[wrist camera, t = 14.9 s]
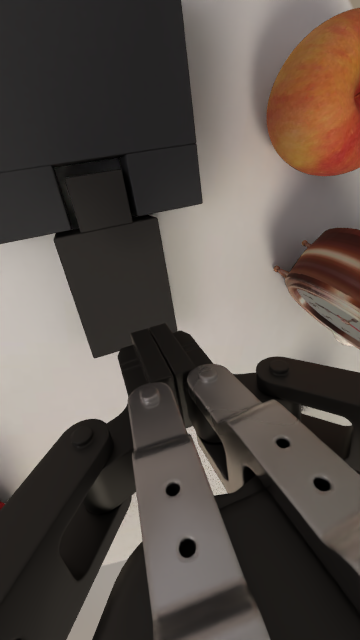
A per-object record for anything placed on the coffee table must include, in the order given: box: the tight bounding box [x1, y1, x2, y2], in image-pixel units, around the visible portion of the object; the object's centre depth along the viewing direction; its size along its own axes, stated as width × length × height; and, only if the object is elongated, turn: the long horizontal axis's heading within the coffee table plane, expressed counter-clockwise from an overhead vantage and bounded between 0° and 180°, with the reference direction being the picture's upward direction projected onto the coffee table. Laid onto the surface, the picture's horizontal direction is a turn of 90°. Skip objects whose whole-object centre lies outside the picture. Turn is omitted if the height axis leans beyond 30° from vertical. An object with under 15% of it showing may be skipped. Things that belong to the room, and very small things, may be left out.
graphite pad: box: [0, 0, 202, 244], centre depth 16 cm, size 12×10×2 cm
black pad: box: [54, 169, 177, 358], centre depth 19 cm, size 6×11×2 cm, turn 9°
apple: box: [267, 8, 360, 176], centre depth 17 cm, size 7×7×8 cm
